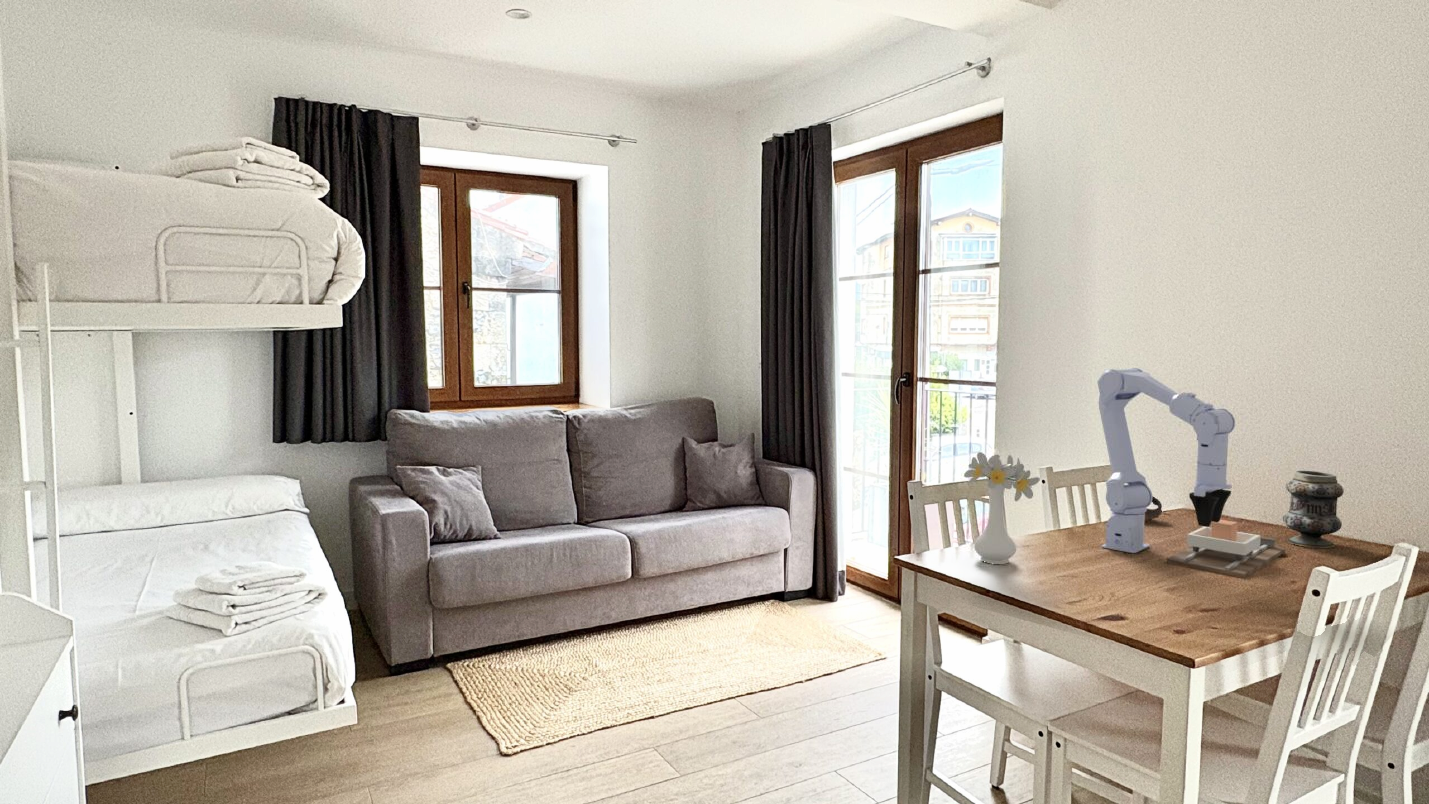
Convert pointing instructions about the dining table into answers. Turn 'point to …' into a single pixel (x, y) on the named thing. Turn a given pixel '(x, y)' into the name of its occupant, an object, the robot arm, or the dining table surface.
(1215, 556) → the track board
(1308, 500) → the apothecary jar
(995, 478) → the flower vase
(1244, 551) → the white square tray
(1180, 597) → the dining table surface
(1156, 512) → the pottery mug
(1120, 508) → the robot arm
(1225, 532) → the terracotta block
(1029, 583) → the dining table surface
